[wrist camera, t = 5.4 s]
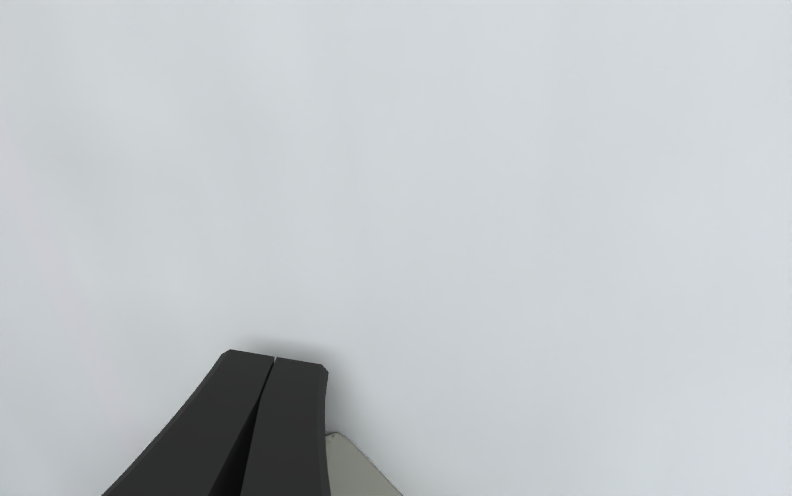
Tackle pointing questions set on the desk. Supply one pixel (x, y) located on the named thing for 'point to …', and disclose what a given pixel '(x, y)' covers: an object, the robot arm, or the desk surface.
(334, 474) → the digital clock
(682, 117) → the desk surface
